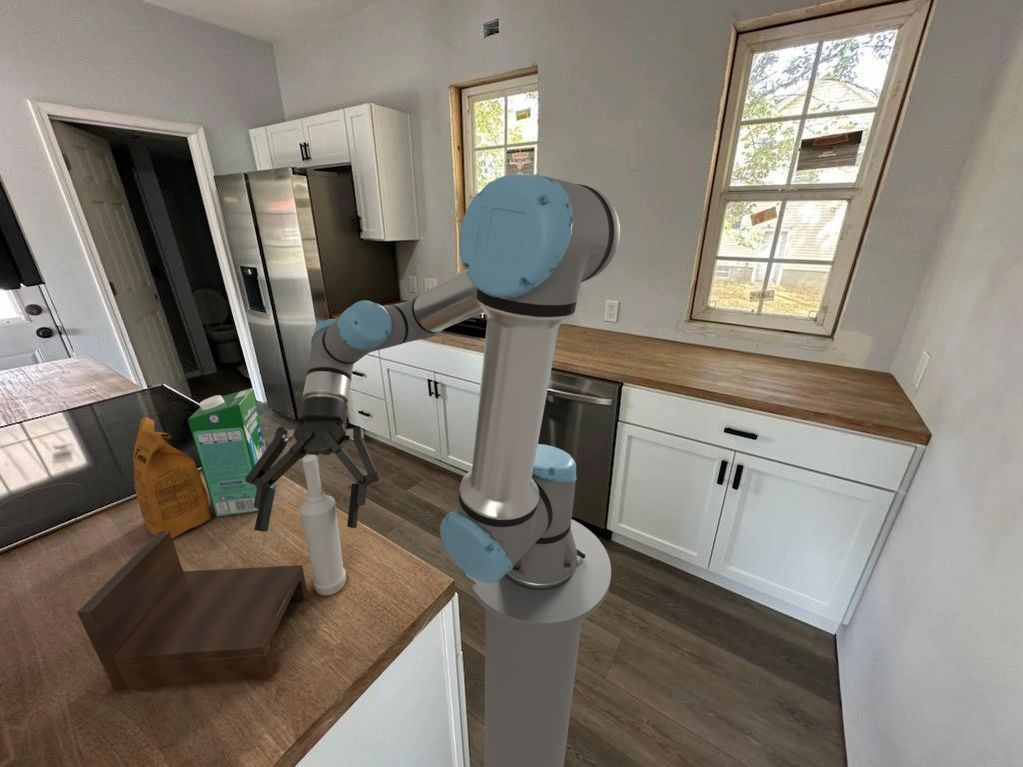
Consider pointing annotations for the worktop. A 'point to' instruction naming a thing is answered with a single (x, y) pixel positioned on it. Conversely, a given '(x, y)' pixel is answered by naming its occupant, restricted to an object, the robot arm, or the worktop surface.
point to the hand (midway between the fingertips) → (306, 529)
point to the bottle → (321, 532)
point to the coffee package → (167, 484)
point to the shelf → (187, 619)
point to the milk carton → (228, 449)
